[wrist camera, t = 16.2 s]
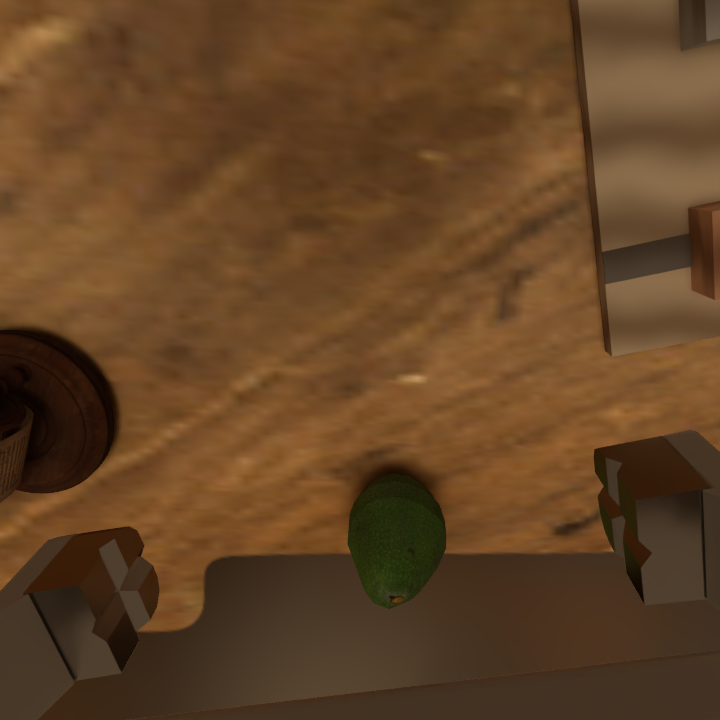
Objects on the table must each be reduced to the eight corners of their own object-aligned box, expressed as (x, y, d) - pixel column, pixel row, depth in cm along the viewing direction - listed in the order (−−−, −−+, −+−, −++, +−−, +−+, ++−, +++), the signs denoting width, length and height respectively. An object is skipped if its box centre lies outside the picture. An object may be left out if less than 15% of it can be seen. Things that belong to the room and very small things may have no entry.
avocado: (344, 521, 51) (329, 622, 40) (363, 448, 49) (353, 534, 38) (429, 540, 52) (438, 647, 40) (452, 468, 49) (469, 560, 38)
